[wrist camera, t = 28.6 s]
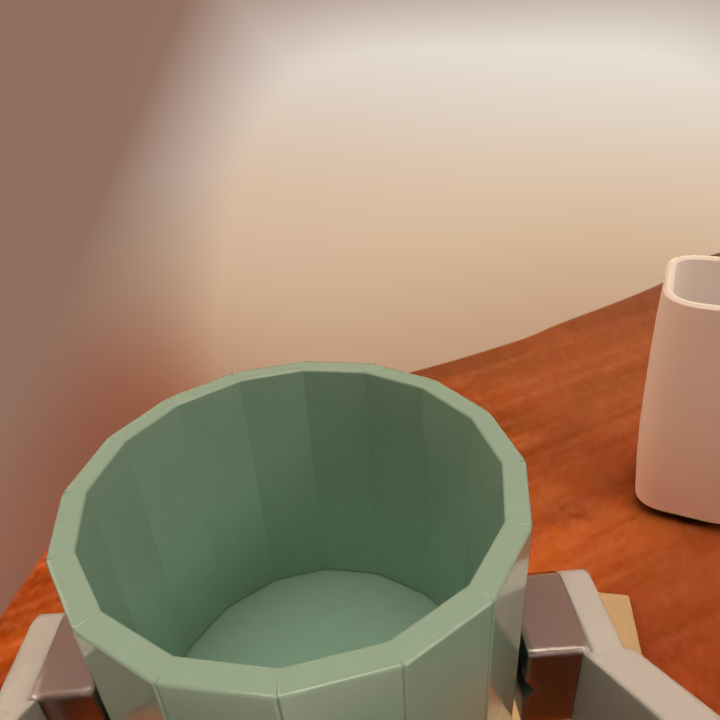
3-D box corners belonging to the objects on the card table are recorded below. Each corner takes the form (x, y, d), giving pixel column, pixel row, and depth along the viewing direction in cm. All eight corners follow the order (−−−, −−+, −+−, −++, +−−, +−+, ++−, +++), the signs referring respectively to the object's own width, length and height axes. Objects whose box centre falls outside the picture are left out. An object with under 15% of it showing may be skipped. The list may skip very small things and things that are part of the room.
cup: (750, 549, 37) (832, 322, 30) (618, 516, 40) (661, 301, 32) (745, 472, 43) (813, 265, 35) (629, 448, 46) (669, 251, 38)
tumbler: (126, 977, 11) (-74, 656, 7) (242, 651, 17) (173, 356, 12) (500, 1053, 10) (554, 732, 6) (492, 678, 16) (516, 366, 11)
